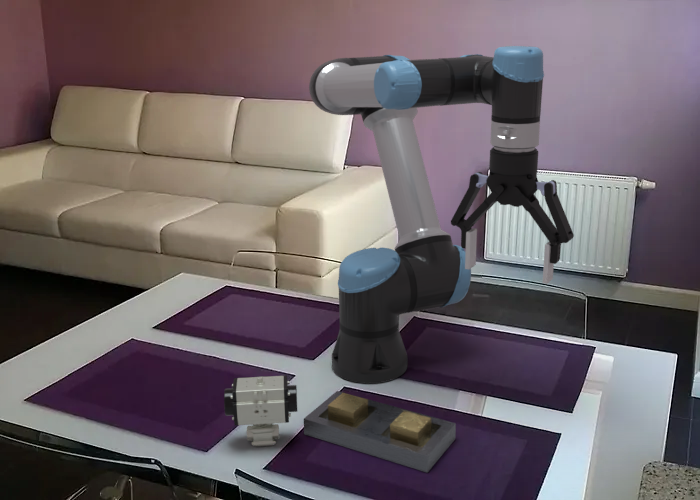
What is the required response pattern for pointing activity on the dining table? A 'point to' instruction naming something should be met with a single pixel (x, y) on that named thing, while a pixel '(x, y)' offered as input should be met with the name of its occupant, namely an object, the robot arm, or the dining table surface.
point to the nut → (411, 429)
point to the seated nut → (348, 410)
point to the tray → (381, 435)
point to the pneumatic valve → (261, 406)
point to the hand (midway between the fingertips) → (507, 274)
